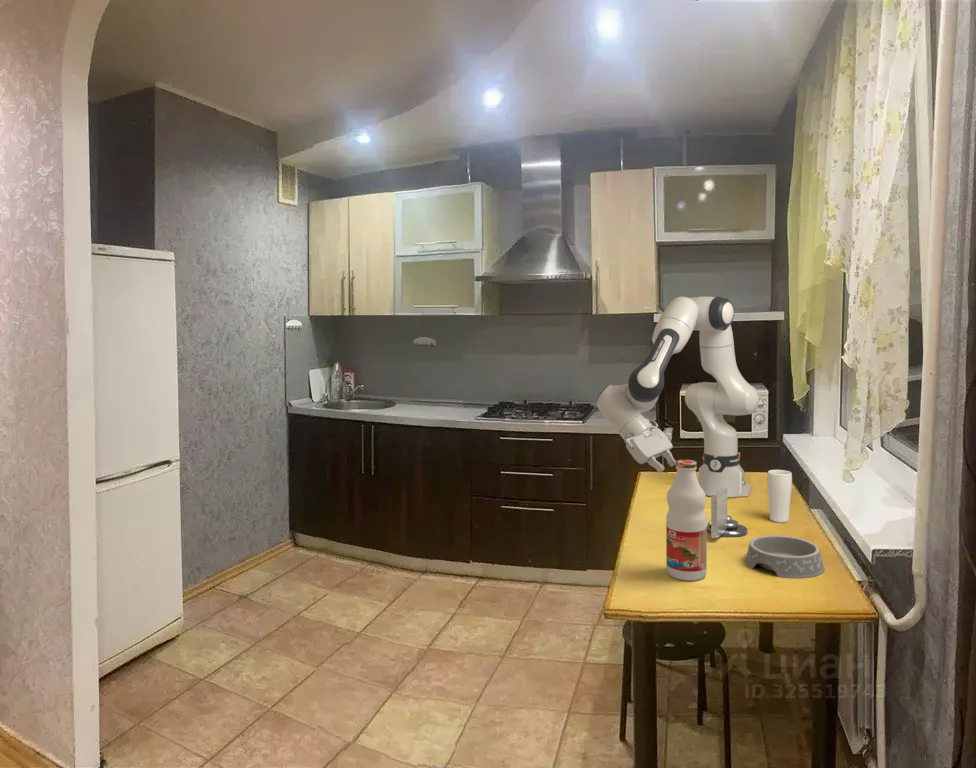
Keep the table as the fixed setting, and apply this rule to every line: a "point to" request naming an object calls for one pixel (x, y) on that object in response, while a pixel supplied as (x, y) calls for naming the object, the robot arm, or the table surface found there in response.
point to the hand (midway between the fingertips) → (668, 467)
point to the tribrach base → (731, 531)
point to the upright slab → (720, 514)
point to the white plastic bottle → (686, 525)
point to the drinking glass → (779, 494)
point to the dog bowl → (786, 556)
